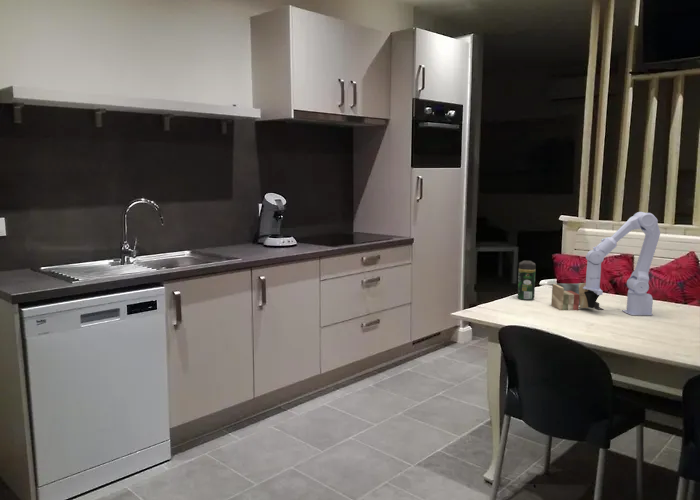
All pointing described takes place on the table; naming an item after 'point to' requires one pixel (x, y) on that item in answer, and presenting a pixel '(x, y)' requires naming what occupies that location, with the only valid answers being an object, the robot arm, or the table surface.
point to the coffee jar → (526, 280)
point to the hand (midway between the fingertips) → (591, 307)
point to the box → (582, 296)
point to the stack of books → (567, 297)
